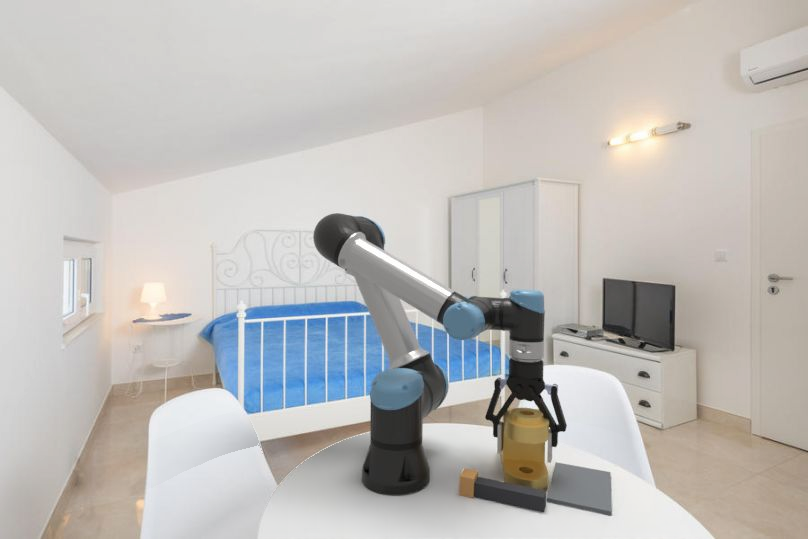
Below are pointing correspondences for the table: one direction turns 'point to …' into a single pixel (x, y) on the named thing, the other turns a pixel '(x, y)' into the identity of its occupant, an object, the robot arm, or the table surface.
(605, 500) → the mat
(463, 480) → the dark grey bar
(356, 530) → the table surface
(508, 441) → the gold clevis bracket
